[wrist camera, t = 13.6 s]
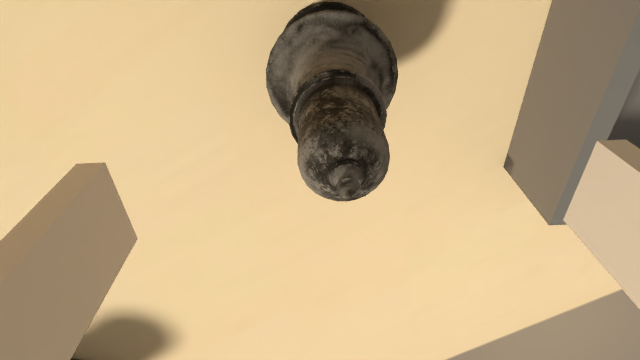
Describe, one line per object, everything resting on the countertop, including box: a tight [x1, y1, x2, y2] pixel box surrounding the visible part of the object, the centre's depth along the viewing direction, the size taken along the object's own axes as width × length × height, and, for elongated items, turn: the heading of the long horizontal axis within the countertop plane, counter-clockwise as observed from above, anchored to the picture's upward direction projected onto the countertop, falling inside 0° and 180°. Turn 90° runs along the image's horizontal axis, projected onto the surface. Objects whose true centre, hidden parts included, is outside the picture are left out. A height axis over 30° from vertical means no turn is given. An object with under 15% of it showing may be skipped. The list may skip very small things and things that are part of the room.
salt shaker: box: [266, 2, 398, 201], centre depth 15 cm, size 6×6×12 cm
